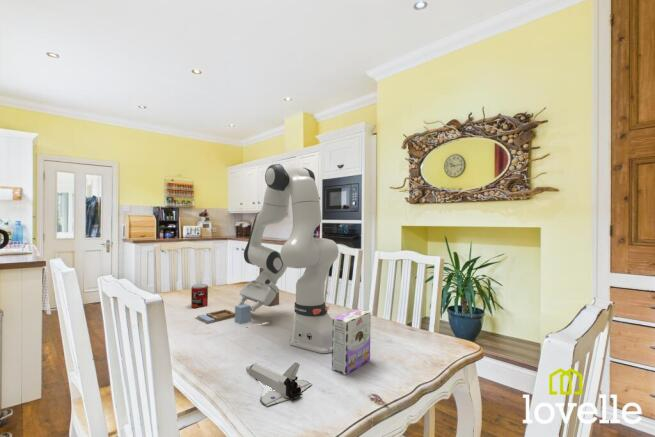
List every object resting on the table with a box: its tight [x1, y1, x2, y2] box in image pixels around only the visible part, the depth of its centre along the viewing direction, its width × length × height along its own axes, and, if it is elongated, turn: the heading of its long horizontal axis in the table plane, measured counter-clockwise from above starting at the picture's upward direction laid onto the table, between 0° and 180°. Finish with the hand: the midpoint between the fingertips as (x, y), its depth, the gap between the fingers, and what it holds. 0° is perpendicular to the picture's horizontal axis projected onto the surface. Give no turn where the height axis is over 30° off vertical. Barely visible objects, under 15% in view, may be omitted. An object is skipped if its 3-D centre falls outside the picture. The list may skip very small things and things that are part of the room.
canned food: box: [190, 283, 209, 310], centre depth 171 cm, size 8×8×11 cm
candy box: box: [331, 308, 371, 376], centre depth 106 cm, size 14×6×16 cm, turn 141°
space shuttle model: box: [246, 362, 313, 407], centre depth 94 cm, size 16×25×10 cm, turn 46°
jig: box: [194, 309, 235, 325], centre depth 150 cm, size 12×16×2 cm
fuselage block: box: [234, 303, 252, 325], centre depth 145 cm, size 4×5×8 cm
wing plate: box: [197, 314, 216, 324], centre depth 146 cm, size 10×3×1 cm, turn 47°
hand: (246, 308), depth 146 cm, fingers open, 8 cm apart
